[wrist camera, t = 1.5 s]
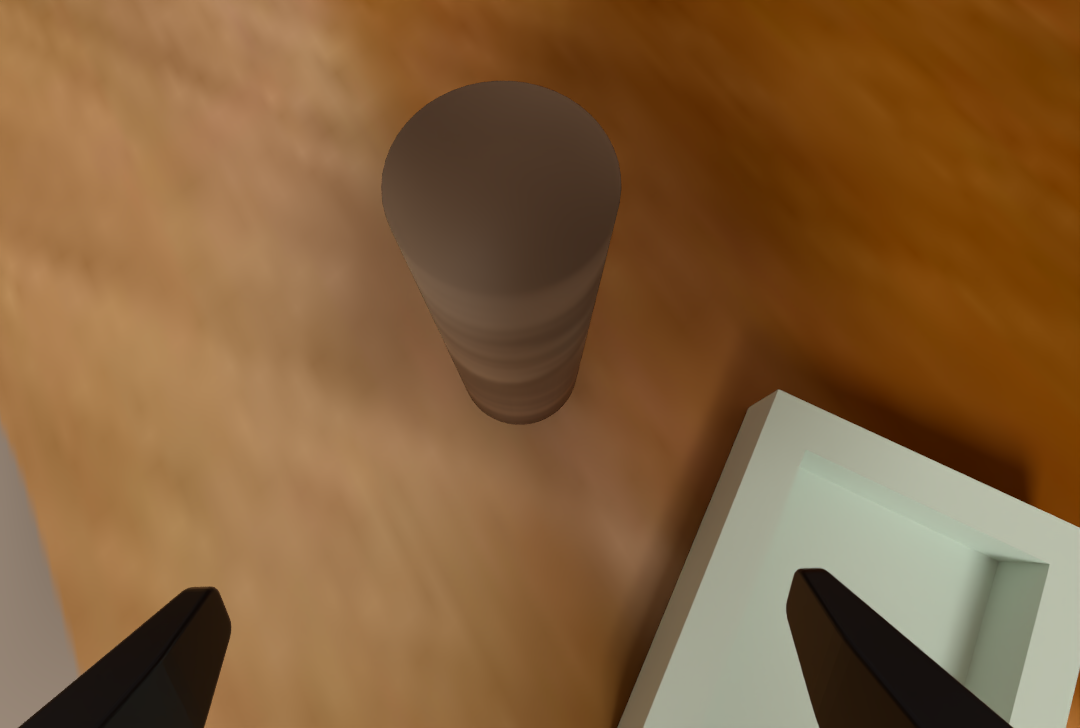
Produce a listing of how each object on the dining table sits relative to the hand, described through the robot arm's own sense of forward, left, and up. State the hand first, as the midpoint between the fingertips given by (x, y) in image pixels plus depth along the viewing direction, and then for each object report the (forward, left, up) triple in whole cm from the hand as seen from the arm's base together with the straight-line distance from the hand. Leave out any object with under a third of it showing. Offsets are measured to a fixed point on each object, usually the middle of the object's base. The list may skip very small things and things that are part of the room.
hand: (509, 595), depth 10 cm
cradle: (+2, -11, -13) cm, 17 cm away
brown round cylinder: (+6, +3, -13) cm, 15 cm away
